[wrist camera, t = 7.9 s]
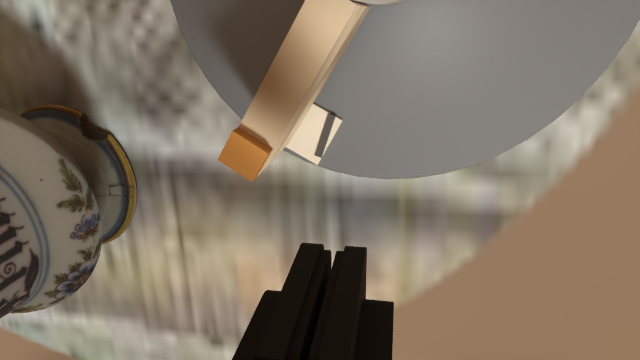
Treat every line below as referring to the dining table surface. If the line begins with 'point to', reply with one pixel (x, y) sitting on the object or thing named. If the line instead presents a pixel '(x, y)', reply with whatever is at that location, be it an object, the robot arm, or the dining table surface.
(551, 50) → the dial base
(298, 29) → the tan knob handle
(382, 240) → the dining table surface
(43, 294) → the apothecary jar
